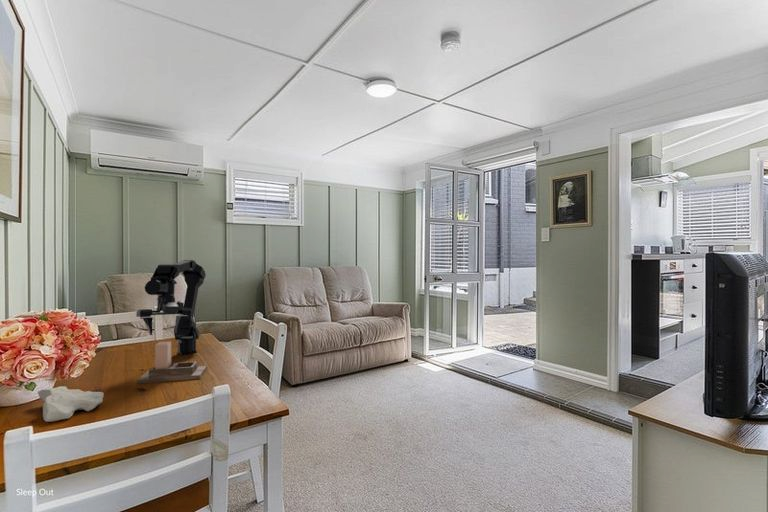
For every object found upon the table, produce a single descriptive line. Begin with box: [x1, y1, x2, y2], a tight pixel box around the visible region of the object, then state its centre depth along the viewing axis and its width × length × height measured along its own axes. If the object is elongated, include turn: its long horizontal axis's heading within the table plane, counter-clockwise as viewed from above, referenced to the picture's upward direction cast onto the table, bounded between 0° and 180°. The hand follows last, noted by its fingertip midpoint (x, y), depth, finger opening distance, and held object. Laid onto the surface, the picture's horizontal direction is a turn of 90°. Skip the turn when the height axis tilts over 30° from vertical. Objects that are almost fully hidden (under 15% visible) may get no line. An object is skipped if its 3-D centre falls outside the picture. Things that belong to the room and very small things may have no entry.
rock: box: [37, 385, 105, 423], centre depth 109 cm, size 21×5×15 cm
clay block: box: [154, 341, 172, 369], centre depth 136 cm, size 4×4×11 cm
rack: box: [136, 360, 208, 384], centre depth 137 cm, size 12×20×4 cm, turn 105°
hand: (163, 334), depth 150 cm, fingers open, 9 cm apart
